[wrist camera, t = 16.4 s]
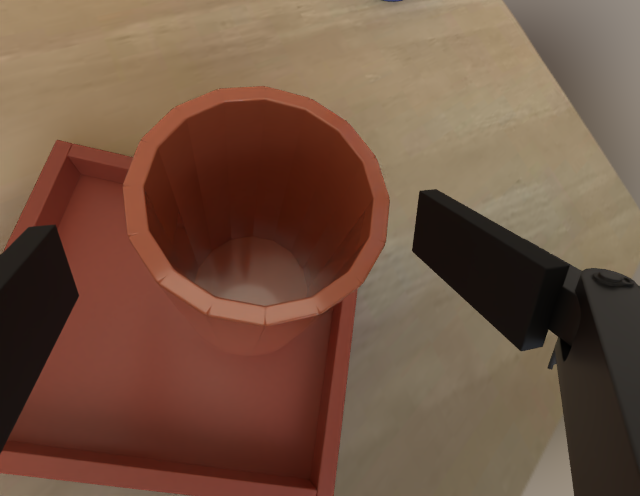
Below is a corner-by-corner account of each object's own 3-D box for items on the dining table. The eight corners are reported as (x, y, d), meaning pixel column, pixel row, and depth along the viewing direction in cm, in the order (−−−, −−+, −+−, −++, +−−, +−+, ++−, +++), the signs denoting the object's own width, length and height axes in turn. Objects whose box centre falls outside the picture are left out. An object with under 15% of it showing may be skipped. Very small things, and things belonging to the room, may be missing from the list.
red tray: (354, 227, 25) (367, 210, 22) (320, 496, 19) (332, 512, 17) (75, 165, 22) (56, 139, 20) (-51, 450, 17) (-98, 461, 15)
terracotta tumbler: (321, 246, 23) (397, 120, 12) (302, 366, 21) (376, 346, 10) (204, 221, 22) (169, 60, 11) (169, 344, 20) (80, 293, 9)
